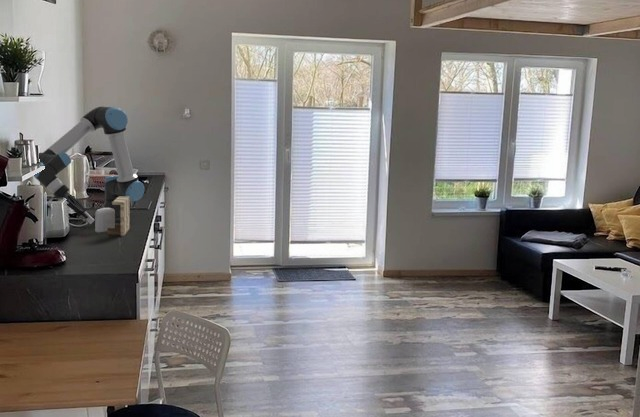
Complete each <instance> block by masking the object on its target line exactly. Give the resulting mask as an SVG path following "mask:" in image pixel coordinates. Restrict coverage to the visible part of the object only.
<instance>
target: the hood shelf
mask: <svg viewBox="0 0 640 417" xmlns="http://www.w3.org/2000/svg"><path fill="white" fill-rule="evenodd" d="M130 202H131V201H130V197H121V196H119V197H118V198H116V199H115V200H114V201H113V202H112V205H120V206H121V217H120V223H115V228H108V229H107V235H112V236H113V235H116V236H117V235H118V236H119V235H120V237H124V236H125V235H126V234H127V233H128V231H130V228H131V225H130V217H131V216H130V214H131V213H130V211H131V210H130Z"/></svg>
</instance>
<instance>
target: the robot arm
mask: <svg viewBox="0 0 640 417" xmlns="http://www.w3.org/2000/svg"><path fill="white" fill-rule="evenodd" d="M128 122H129V120H128V115H127V113H126V112H125V111H124V110H123V109H122V108H119V107H115V106H112V107H111V106H98V107H95V108H93V109H92V110H90V111H88V112H87V113H86V114H84V116H82V117H81V118H80V121H79V122H78V123H77V124H75V126H73V127H71V129H70V130H68V131H67V132H66V133H65V134H64V135H63V136H61V137H60V138H59V139H58V140H56V142H54V143H53V144H51V145H50V146H49V147H47V148H46V150H44V151H43V152H38V153H39V159H40V163H39V164H38V165H40V166H45V169H44V170H42V171H41V172H39V173H37V174H35V175H34V176H33V177H34V178H35V179H36V180H37V181H38V182H39V183H40V184H41V185H43V187H45V188H46V190H47V192H50V193H51V194H52V195H53V196H54V197H55V198H56V197H64V198H66V199H67V200H66V201H67V205H66V206H68V208H69V209H71V210H72V211H73V212H75V213H76V214H77V215H78V216H79V217H82V218H83V219H84V220H86V222H87V223H89V225H92V224H93V223H95V218H94V217H92V216H91V215H90V214H89V213H88V212H87V209H86V208H85V207H84V206H83V205H82V204H81V202H80V201H79V200H78V199H77V198H76V197H75V195H72V194H70V193H69V191H70V188H69V187H68V186H67V185H66V184H64V183H63V181H62V180H61V179H60V178H59V177H58V176H57V175H58V174H59V173H60V172H62V171H63V170H64V169H66V168H67V167H68V166H69V165H70V164H71V163H72V158H71V156H70V155H69V154H67V152H69V151H70V150H71V149H72V148H74V147H75V146H76V145H77V144H78V143H79V142H80V141H82V140H83V139H84V138H85V137H86V136H87V135H89V134H90V133H94V132H95V131H97V130H98V129H101V128H102V129H103V132H104V135H106V137H108V140H109V144H110V149H111V152H112V156H113V159H114V160H113V161H114V163H115V168H116V171H117V175H112V176H111V175H110V176H106V177H105V178H104V204H103V207H102V208H112V209H114V210H115V218H121V206H120V205H112V202H113V201H114V200H115V199H116V198H118V197H119V196H121V197H130V202H132V201H133V202H137V201H139V200H140V199H141V198H142V197H143V195H144V193H145V186H144V183H143V182H141V181H139V177H138V174H136V173H135V172H134V167H133V163H132V160H131V156H130V152H129V148H128V144H127V140H126V136H125V135H126V134H125V132H126V131H127V126H128Z"/></svg>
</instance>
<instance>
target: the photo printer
mask: <svg viewBox="0 0 640 417" xmlns="http://www.w3.org/2000/svg"><path fill="white" fill-rule="evenodd" d="M94 220H95V221H94V224H95V225H94V231H95V233H97V234H98V233H105V232H107V229H108V228H115V224H116V217H115V210H114V209H112V208H103V207H101V208H99V209H98V208H97V210H95V212H94Z"/></svg>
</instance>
